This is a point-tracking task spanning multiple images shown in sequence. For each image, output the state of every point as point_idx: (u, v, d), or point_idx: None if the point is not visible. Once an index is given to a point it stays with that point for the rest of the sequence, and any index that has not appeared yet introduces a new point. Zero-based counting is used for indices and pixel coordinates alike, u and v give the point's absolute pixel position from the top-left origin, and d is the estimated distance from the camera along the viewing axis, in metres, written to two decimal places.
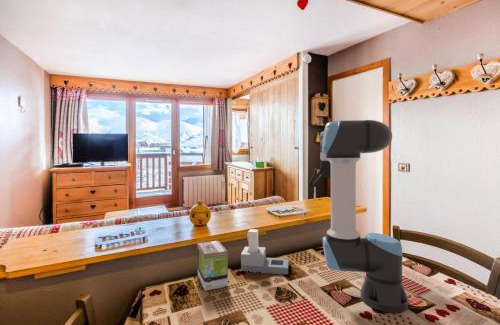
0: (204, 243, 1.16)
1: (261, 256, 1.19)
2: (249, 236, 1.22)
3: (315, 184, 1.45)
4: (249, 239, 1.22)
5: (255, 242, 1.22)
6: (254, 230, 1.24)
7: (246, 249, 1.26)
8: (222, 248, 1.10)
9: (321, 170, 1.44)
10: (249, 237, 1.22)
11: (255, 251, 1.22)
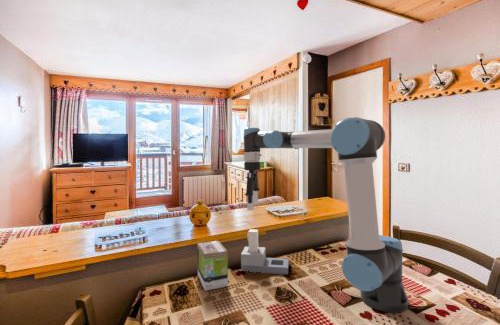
0: (204, 243, 1.16)
1: (261, 256, 1.19)
2: (249, 236, 1.22)
3: (252, 187, 1.30)
4: (249, 239, 1.22)
5: (255, 242, 1.22)
6: (254, 230, 1.24)
7: (246, 249, 1.26)
8: (222, 248, 1.10)
9: None
10: (249, 237, 1.22)
11: (255, 251, 1.22)
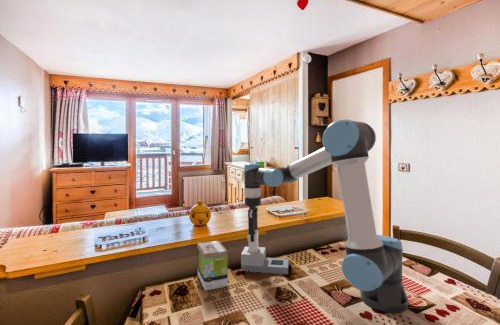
0: (204, 243, 1.16)
1: (261, 256, 1.19)
2: (249, 236, 1.22)
3: None
4: (249, 239, 1.22)
5: None
6: None
7: (246, 249, 1.26)
8: (222, 248, 1.10)
9: None
10: (249, 237, 1.22)
11: (255, 251, 1.22)
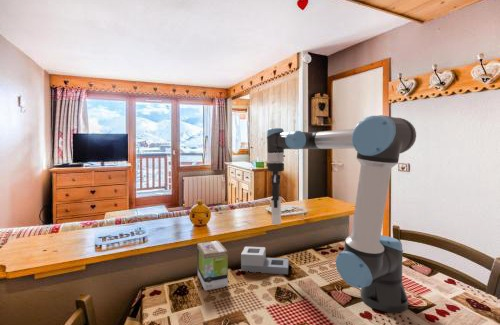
0: (204, 243, 1.16)
1: (261, 256, 1.19)
2: (272, 202, 1.20)
3: None
4: (272, 205, 1.20)
5: None
6: None
7: (246, 249, 1.26)
8: (222, 248, 1.10)
9: None
10: (272, 203, 1.20)
11: (278, 218, 1.20)
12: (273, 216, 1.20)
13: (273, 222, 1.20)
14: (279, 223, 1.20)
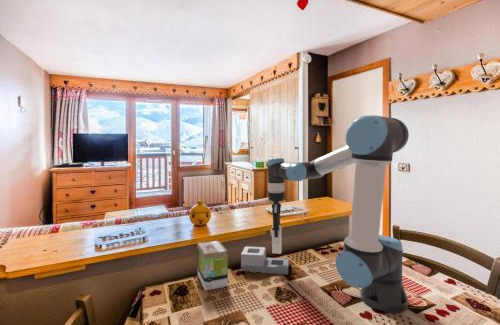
0: (204, 243, 1.16)
1: (261, 256, 1.19)
2: None
3: None
4: None
5: None
6: None
7: (246, 249, 1.26)
8: (222, 248, 1.10)
9: None
10: None
11: (279, 247, 1.20)
12: (274, 245, 1.21)
13: (273, 252, 1.21)
14: (280, 252, 1.20)
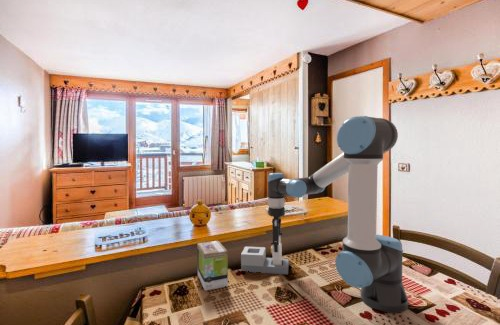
0: (204, 243, 1.16)
1: (261, 256, 1.19)
2: None
3: None
4: None
5: (279, 255, 1.20)
6: None
7: (246, 249, 1.26)
8: (222, 248, 1.10)
9: None
10: None
11: (279, 264, 1.20)
12: (274, 262, 1.21)
13: None
14: None
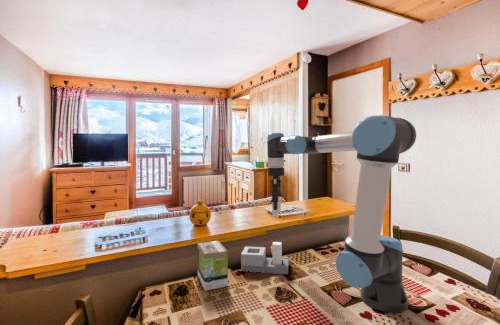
0: (204, 243, 1.16)
1: (261, 256, 1.19)
2: (273, 249, 1.21)
3: None
4: (273, 252, 1.21)
5: (279, 255, 1.20)
6: (278, 243, 1.22)
7: (246, 249, 1.26)
8: (222, 248, 1.10)
9: None
10: (273, 250, 1.21)
11: (279, 264, 1.20)
12: (274, 262, 1.21)
13: None
14: None
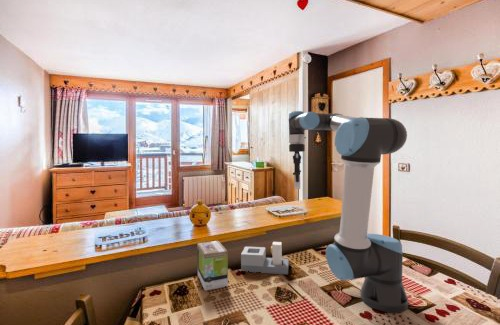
0: (204, 243, 1.16)
1: (261, 256, 1.19)
2: (273, 249, 1.21)
3: None
4: (273, 252, 1.21)
5: (279, 255, 1.20)
6: (278, 243, 1.22)
7: (246, 249, 1.26)
8: (222, 248, 1.10)
9: None
10: (273, 250, 1.21)
11: (279, 264, 1.20)
12: (274, 262, 1.21)
13: None
14: None
